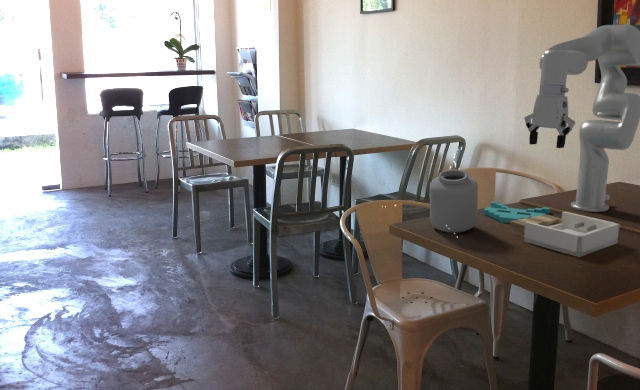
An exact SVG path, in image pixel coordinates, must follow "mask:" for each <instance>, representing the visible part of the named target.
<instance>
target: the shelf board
mask: <svg viewBox="0 0 640 390" xmlns="http://www.w3.org/2000/svg"><path fill="white" fill-rule="evenodd" d="M561 220H562V218H559V217H557V216H553V215H550V214H546V215H541V216H536V217H530V218H525V219H519V220H513V221H510V223H509V233H512V234H514V235H517V236H519V237H523V238H524V234H525V222H531V223H535V224H539V225H543V226H547V227H548V226H552V225H555V224H558V223H561Z"/></svg>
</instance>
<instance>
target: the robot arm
mask: <svg viewBox="0 0 640 390" xmlns="http://www.w3.org/2000/svg"><path fill="white" fill-rule="evenodd" d="M596 60H597V62H598V66H599V69H600V75H601V79H600V83H599V86H598V88H597V92H596V95H595V98H594V101H593V104H592V114H593V115H594V117H596V118H599V119H589V120H586V121H584V122H583V123H582V124H581V125H580V128H579V129H578V131H579V132H578V133H579V134H578V135H579V136H578V137H579V164H578V165H579V166H578V175H577V185H576V196H575V201H572V202H571V203H570V208H572V209H575V210H579V211H582V212H589V213H591V212H594V213H601V212H607V211H608V210H610V206H609V205H608V204H606V203H605V201H607V200H610V195H609V194H606V193H607V184H608V174H609V173H608V172H609V164H610V163H609V161H610V160H609V156H608V154H607V152H606V151H605V150H606V149H607V150H616V151H625V150H628V149H629V148H630V147H631V146H632V143H633V141H634V139H635V135H636V134H637V133H636V132H637V129H638V126H639V124H640V95H639V94H637V93H634V92H626V88H627V85H628V79H627V76H626V75H625V73H624V72H623V70H622V68H621V67H620V66H627V67H628V66H629V67H630V66H632V67H634V66H635V67H637V66H638V67H639V66H640V29H638V28H637V27H635V26H634V25H633V24H605V25H601V26H598V27H596V29H593V30H592V31H590V32H588V33H587V34H585V35H583V36H581V37H578V38H574V39H571V40H566V41H563V42H560V43H557V44H554V45H552V46H551V47H549V48H547V49H546V50H545V51H544V52H543V53H542V54H541V56H540V59H539V69H540V71H541V72H540V79H539V80H540V82H539V91H538V94H537V95H536V97H535V100H534V101H535V102H534V105H533V110H532V111H533V112H532V113H530V114H529V115H528V114H527V115H526V116H525V117H523V118H524V122H525V126H526V128H527V129H528V132H529V138H528V139H529V145H537V144H538V138H539V132H538V129H540V128H547V129H556V131H557V133H558V135H557V136H556V137H557V138H556V149H564V148H565V144H566V137H567V136H568V135H569V133H570V132H571V131H572V130H573V128H574V126H575V125H576V121H575V120H573V119H572V118H571V117H569V100H568V96H566V93H569V88H568V87H567V78H568V77H567V76H576V75H580V74H582V73H584V72H585V70H586V69H587V67H588V66H589V65H588V63H589V62H593V61H596ZM603 119H604V120H603ZM610 120H611V121H610Z"/></svg>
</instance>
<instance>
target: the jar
mask: <svg viewBox="0 0 640 390" xmlns="http://www.w3.org/2000/svg"><path fill="white" fill-rule="evenodd" d="M454 155H456V154H455V153H453V159H455V158H456V156H454ZM452 162H453V163H454V167H455V168H457V164H456V162H455V161H452ZM451 168H452V166H449V169H446V170H443V171H441V172H440V173H439V174H438V176H436V177H434V179H432V180H431V181H430V184H429V219H430V223H431V225H432V227H434V228H435V229H437V230H439V231H440V232H441V231H442V232H445V233H449V234H454V235H455V234H456V233H457V234H458V233H463V232H467V231H469V230H471V229H473V228H474V227H475V226H476V224H477V221H478V194H479V192H478V191H479V190H478V189H479V186H478V183H477V181H476V180H475V179H474V178H473V177H471V176H469V173H468V172H467V171H465V170H461V169H460V168H459V167H458V169H451ZM456 238H459V237H458V236H456Z"/></svg>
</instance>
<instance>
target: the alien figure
mask: <svg viewBox="0 0 640 390" xmlns="http://www.w3.org/2000/svg"><path fill="white" fill-rule="evenodd" d="M550 211H551V207H545V206H544V207H535V208H527V209H524V208H523V209H521V208H513V207H510V206H509V205H504V203H499V201H491V203H490V206H486V207H485V208H484V209H483V211H482V212H483V216H488V218H493V220H496V221H498V223H506V224H510V221H513V220H519V219H525V218H530V217H536V216H541V215H550Z"/></svg>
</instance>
